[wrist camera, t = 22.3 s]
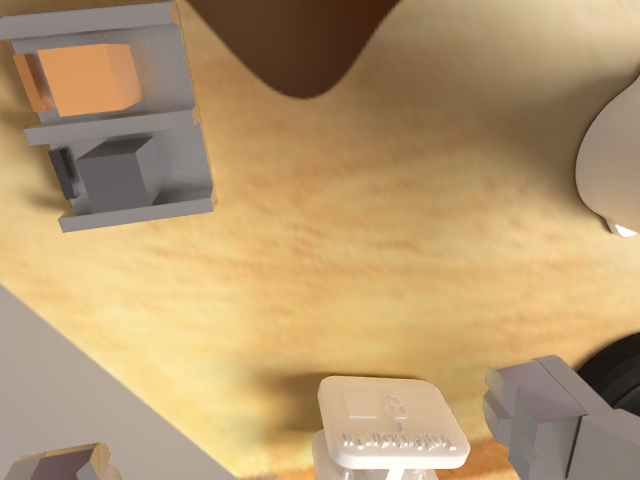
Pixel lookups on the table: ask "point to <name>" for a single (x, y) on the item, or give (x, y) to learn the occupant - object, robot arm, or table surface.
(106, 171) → the dark gray block
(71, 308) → the table surface
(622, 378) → the banker's lamp
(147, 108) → the gray divided tray
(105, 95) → the orange block
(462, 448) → the cable organizer
